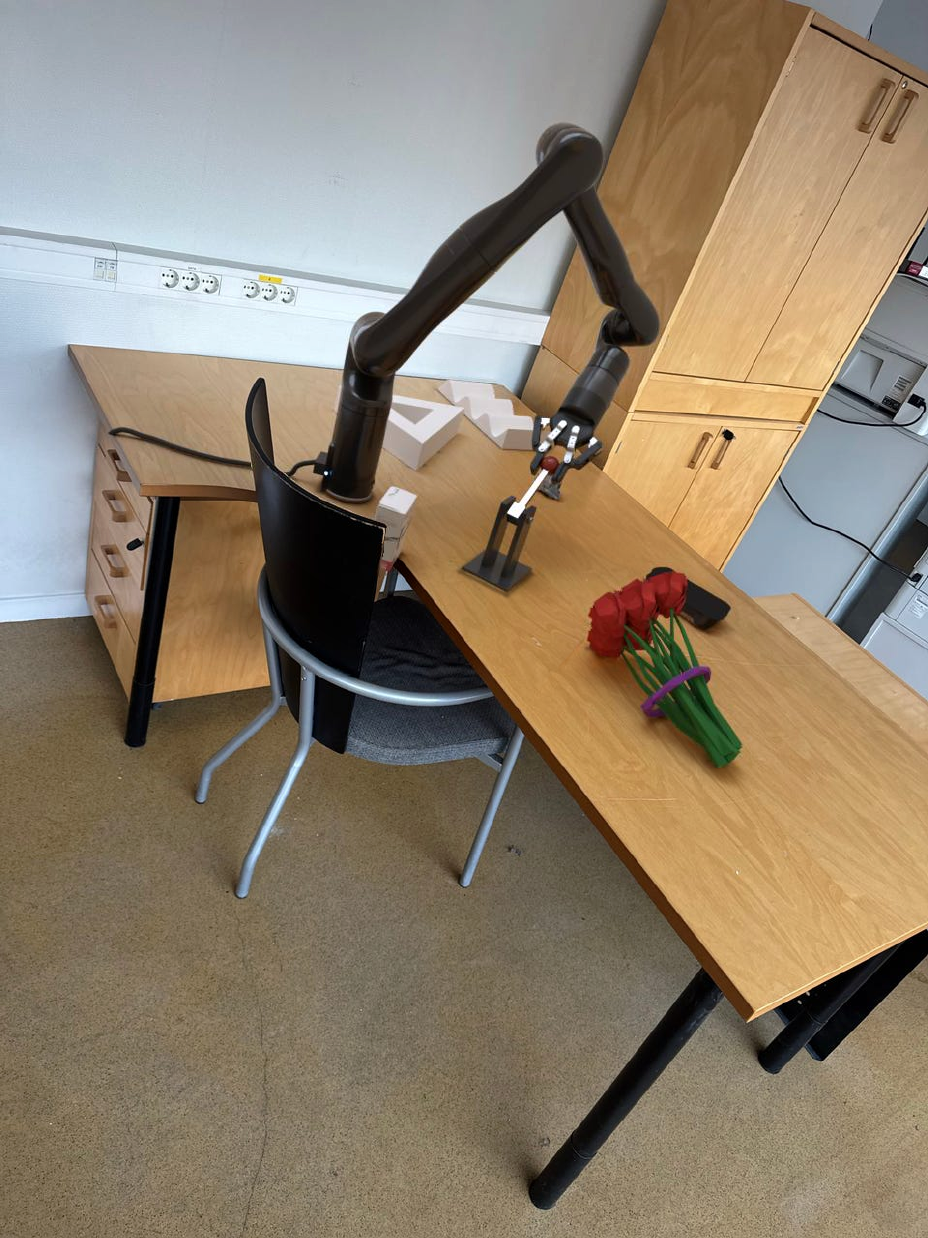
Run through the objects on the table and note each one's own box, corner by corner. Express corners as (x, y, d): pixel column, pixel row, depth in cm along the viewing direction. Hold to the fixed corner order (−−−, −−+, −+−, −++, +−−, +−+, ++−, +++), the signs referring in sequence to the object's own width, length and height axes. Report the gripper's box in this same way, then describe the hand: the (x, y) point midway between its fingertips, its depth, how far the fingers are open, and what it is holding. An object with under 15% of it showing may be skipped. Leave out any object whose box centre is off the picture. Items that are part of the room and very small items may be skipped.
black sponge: (727, 623, 157) (735, 607, 156) (706, 635, 152) (714, 618, 150) (656, 579, 165) (663, 563, 163) (634, 588, 159) (641, 572, 157)
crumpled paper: (541, 483, 190) (550, 455, 186) (561, 500, 185) (571, 472, 181) (526, 483, 188) (535, 454, 184) (546, 501, 183) (556, 472, 179)
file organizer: (478, 393, 232) (483, 375, 229) (545, 450, 208) (552, 431, 206) (437, 389, 225) (442, 370, 222) (501, 448, 202) (508, 428, 199)
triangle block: (333, 410, 193) (338, 384, 189) (418, 406, 210) (424, 382, 207) (415, 471, 177) (422, 443, 174) (500, 461, 194) (508, 435, 191)
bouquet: (667, 810, 119) (551, 650, 133) (736, 780, 129) (622, 634, 143) (750, 729, 106) (613, 562, 120) (819, 702, 116) (685, 551, 130)
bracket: (487, 552, 156) (509, 485, 148) (530, 573, 153) (554, 506, 146) (460, 572, 147) (482, 502, 139) (505, 595, 144) (529, 525, 137)
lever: (545, 461, 151) (547, 449, 148) (562, 469, 150) (564, 456, 147) (503, 521, 145) (503, 509, 142) (520, 529, 144) (521, 518, 141)
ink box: (389, 576, 139) (405, 513, 133) (360, 566, 139) (375, 503, 133) (402, 553, 146) (418, 493, 140) (375, 544, 147) (390, 483, 140)
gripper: (552, 372, 149) (505, 451, 146) (625, 402, 145) (578, 484, 142) (554, 395, 156) (509, 471, 153) (624, 424, 152) (579, 503, 149)
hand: (543, 477), depth 148 cm, fingers closed on lever, 3 cm apart
